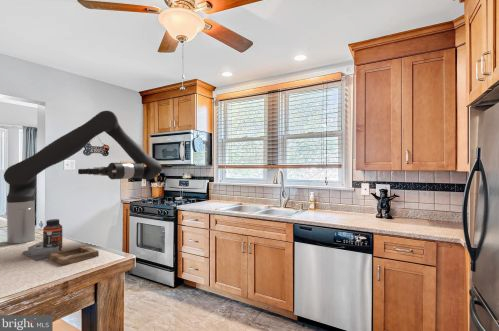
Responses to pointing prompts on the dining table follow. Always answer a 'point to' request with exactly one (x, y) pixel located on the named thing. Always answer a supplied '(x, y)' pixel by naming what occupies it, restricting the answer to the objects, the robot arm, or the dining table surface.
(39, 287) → the dining table surface
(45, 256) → the metal v block
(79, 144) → the robot arm
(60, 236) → the supplement bottle
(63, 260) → the frame
